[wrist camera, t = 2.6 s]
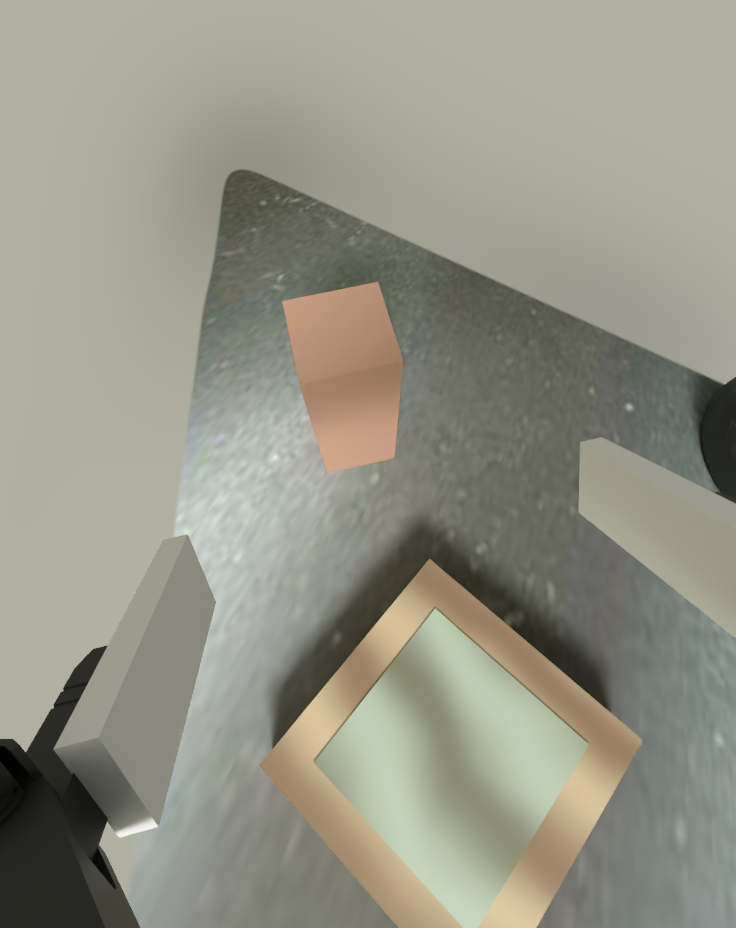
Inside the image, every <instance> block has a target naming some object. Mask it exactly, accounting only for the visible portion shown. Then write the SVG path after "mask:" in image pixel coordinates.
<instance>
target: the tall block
mask: <svg viewBox="0 0 736 928" xmlns="http://www.w3.org/2000/svg"><path fill="white" fill-rule="evenodd" d="M282 302H283V307H284V312H285V317H286V322H287V326H288V331H289V336H290V341H291V345H292V350H293V355H294V360H295V364H296V369H297V374H298V379H299V384H300V387H301V390H302V393H303V396H304V400H305V403H306V406H307V409H308V413H309V416H310V419H311V422H312V425H313V429H314V432H315V435H316V438H317V441H318V445H319V448H320V451H321V454H322V458H323V461H324V464H325V467H326V470H327V473H331V472H335V471H340V470H344V469H348V468H353V467H357V466H361V465H366V464H370V463H375V462H379V461H383V460H388V459H392V458H394V456H395V446H396V436H397V425H398V415H399V405H400V394H401V384H402V374H403V363H404V361H403V358H402V354H401V351H400V348H399V345H398V342H397V339H396V336H395V333H394V330H393V326H392V323H391V320H390V317H389V314H388V311H387V308H386V305H385V302H384V298H383V295H382V292H381V289H380V286H379V283H378V282H375V283H370V284H365V285H360V286H355V287H350V288H345V289H340V290H335V291H330V292H325V293H320V294H315V295H310V296H305V297H300V298H295V299H290V300H285V301H282Z"/></svg>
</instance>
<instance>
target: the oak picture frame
mask: <svg viewBox="0 0 736 928" xmlns="http://www.w3.org/2000/svg"><path fill="white" fill-rule="evenodd" d="M642 741H643V740H642V739H641V738H640V737H638V736H637V735H636V734H635V733H634V732H633V731H631V730H630V729H629V728H628V727H627V726H626V725H624V724H623V723H622V722H621V721H620V720H619V719H617V718H616V717H615V716H614V715H613V714H611V713H610V712H609V711H608V710H607V709H606V708H604V707H603V706H602V705H601V704H600V703H599V702H597V701H596V700H595V699H594V698H593V697H591V696H590V695H589V694H588V693H587V692H586V691H584V690H583V689H582V688H581V687H580V686H579V685H577V684H576V683H575V682H574V681H573V680H572V679H570V678H569V677H568V676H567V675H566V674H564V673H563V672H562V671H561V670H560V669H559V668H557V667H556V666H555V665H554V664H553V663H552V662H550V661H549V660H548V659H547V658H546V657H544V656H543V655H542V654H541V653H540V652H539V651H537V650H536V649H535V648H534V647H533V646H532V645H530V644H529V643H528V642H527V641H526V640H525V639H523V638H522V637H521V636H520V635H519V634H517V633H516V632H515V631H514V630H513V629H512V628H510V627H509V626H508V625H507V624H506V623H505V622H503V621H502V620H501V619H500V618H499V617H497V616H496V615H495V614H494V613H493V612H492V611H490V610H489V609H488V608H487V607H486V606H485V605H483V604H482V603H481V602H480V601H479V600H478V599H476V598H475V597H474V596H473V595H472V594H470V593H469V592H468V591H467V590H466V589H465V588H463V587H462V586H461V585H460V584H459V583H458V582H456V581H455V580H454V579H453V578H452V577H450V576H449V575H448V574H447V573H446V572H445V571H443V570H442V569H441V568H440V567H439V566H438V565H436V564H435V563H434V562H433V561H432V560H430V559H429V560H428V561H427V562H426V564H425V565H424V566H423V567H422V568H421V570H420V571H419V572H418V573H417V574H416V576H415V577H414V578H413V579H412V581H411V582H410V583H409V584H408V585H407V587H406V588H405V589H404V590H403V591H402V593H401V594H400V595H399V596H398V597H397V599H396V600H395V601H394V602H393V604H392V605H391V606H390V607H389V608H388V610H387V611H386V612H385V613H384V614H383V616H382V617H381V618H380V619H379V621H378V622H377V623H376V624H375V625H374V627H373V628H372V629H371V630H370V631H369V633H368V634H367V635H366V636H365V638H364V639H363V640H362V641H361V642H360V644H359V645H358V646H357V647H356V648H355V650H354V651H353V652H352V653H351V654H350V656H349V657H348V658H347V659H346V661H345V662H344V663H343V664H342V665H341V667H340V668H339V669H338V670H337V671H336V673H335V674H334V675H333V676H332V678H331V679H330V680H329V681H328V682H327V684H326V685H325V686H324V687H323V688H322V690H321V691H320V692H319V693H318V695H317V696H316V697H315V698H314V699H313V701H312V702H311V703H310V704H309V705H308V707H307V708H306V709H305V710H304V712H303V713H302V714H301V715H300V716H299V718H298V719H297V720H296V721H295V722H294V724H293V725H292V726H291V727H290V728H289V730H288V731H287V732H286V733H285V735H284V736H283V737H282V738H281V739H280V741H279V742H278V743H277V744H276V745H275V747H274V748H273V749H272V750H271V752H270V753H269V754H268V755H267V756H266V758H265V759H264V760H263V761H262V762H261V764H260V765H259V766H260V768H261V769H262V770H263V771H264V772H265V773H266V774H267V776H268V777H269V778H270V779H271V780H272V781H273V783H274V784H275V785H276V786H277V787H278V788H279V790H280V791H281V792H282V793H283V794H284V795H285V797H286V798H287V799H288V800H289V801H290V802H291V803H292V805H293V806H294V807H295V808H296V809H297V810H298V812H299V813H300V814H301V815H302V816H303V817H304V819H305V820H306V821H307V822H308V823H309V824H310V826H311V827H312V828H313V829H314V830H315V831H316V832H317V834H318V835H319V836H320V837H321V838H322V839H323V841H324V842H325V843H326V844H327V845H328V846H329V848H330V849H331V850H332V851H333V852H334V853H335V855H336V856H337V857H338V858H339V859H340V860H341V861H342V863H343V864H344V865H345V866H346V867H347V868H348V870H349V871H350V872H351V873H352V874H353V875H354V877H355V878H356V879H357V880H358V881H359V882H360V883H361V885H362V886H363V887H364V888H365V889H366V890H367V892H368V893H369V894H370V895H371V896H372V897H373V899H374V900H375V901H376V902H377V903H378V904H379V906H380V907H381V908H382V909H383V910H384V911H385V912H386V914H387V915H388V916H389V917H390V918H391V919H392V921H393V922H394V923H395V924H396V925H397V926H398V928H536V927H537V926H538V924H539V922H540V920H541V919H542V917H543V915H544V913H545V911H546V910H547V908H548V906H549V904H550V903H551V901H552V899H553V897H554V896H555V894H556V892H557V890H558V889H559V887H560V885H561V883H562V882H563V880H564V878H565V876H566V875H567V873H568V871H569V869H570V868H571V866H572V864H573V862H574V861H575V859H576V857H577V855H578V854H579V852H580V850H581V848H582V847H583V845H584V843H585V841H586V840H587V838H588V836H589V834H590V833H591V831H592V829H593V827H594V826H595V824H596V822H597V820H598V819H599V817H600V815H601V813H602V812H603V810H604V808H605V806H606V804H607V803H608V801H609V799H610V797H611V796H612V794H613V792H614V790H615V789H616V787H617V785H618V783H619V782H620V780H621V778H622V776H623V775H624V773H625V771H626V769H627V768H628V766H629V764H630V762H631V761H632V759H633V757H634V755H635V754H636V752H637V750H638V748H639V747H640V745H641V743H642Z"/></svg>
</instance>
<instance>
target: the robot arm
mask: <svg viewBox="0 0 736 928" xmlns="http://www.w3.org/2000/svg"><path fill="white" fill-rule="evenodd" d="M702 445H703V451H704V455H705V459H706V462H707V465H708V467H709V470H710V472H711V474H712V476H713V478H714V480H715V482H716V484H717V485H718V487H719V489H720V490H721V492H722V493H723V494H722V493H718V492H715V493H713V492H711V491H709V490H707V489H705V488H703V487H701V486H699V485H697V484H695V483H693V482H691V481H689V480H687V479H685V478H683V477H681V476H679V475H677V474H675V473H673V472H671V471H669V470H667V469H665V468H663V467H661V466H659V465H657V464H655V463H653V462H651V461H649V460H647V459H645V458H643V457H641V456H639V455H637V454H635V453H633V452H631V451H628V450H626V449H624V448H622V447H620V446H618V445H616V444H614V443H612V442H610V441H608V440H606V439H604V438H602V437H600V438H596V439H592V440H587V441H583V442H580V475H579V513H580V514H581V515H582V516H584V517H585V518H586V519H587V520H589V521H590V522H591V523H592V524H594V525H595V526H596V527H597V528H599V529H600V530H601V531H602V532H604V533H605V534H606V535H607V536H609V537H610V538H611V539H612V540H614V541H615V542H616V543H617V544H619V545H620V546H621V547H622V548H624V549H625V550H626V551H627V552H629V553H630V554H631V555H632V556H634V557H635V558H636V559H637V560H639V561H640V562H641V563H642V564H644V565H645V566H646V567H647V568H649V569H650V570H651V571H652V572H653V573H655V574H656V575H657V576H658V577H660V578H661V579H662V580H663V581H665V582H666V583H667V584H668V585H670V586H671V587H672V588H673V589H675V590H676V591H677V592H678V593H680V594H681V595H682V596H683V597H685V598H686V599H687V600H688V601H690V602H691V603H692V604H693V605H695V606H696V607H697V608H698V609H700V610H701V611H702V612H703V613H705V614H706V615H707V616H708V617H710V618H711V619H712V620H713V621H715V622H716V623H717V624H718V625H720V626H721V627H722V628H723V629H724V630H726V631H727V632H728V633H729V634H731V635H732V636H733V637H734V638H736V377H735V378H734V379H732V380H731V381H729V382H728V383H727V384H725V385H724V386H723V387H722V388H721V389H720V390H719V391H718V392H717V393H716V394H715V395H714V396H713V398H712V399H711V401H710V403H709V405H708V407H707V409H706V411H705V414H704V418H703V424H702ZM215 603H216V601H215V599H214V597H213V594H212V592H211V589H210V587H209V585H208V582H207V580H206V577H205V575H204V573H203V570H202V568H201V565H200V563H199V561H198V558H197V556H196V553H195V551H194V549H193V546H192V544H191V541H190V539H189V537H188V535H184V536H179V537H175V538H171V539H167V540H163V541H162V543H161V545H160V547H159V549H158V551H157V553H156V555H155V557H154V559H153V560H152V562H151V564H150V567H149V568H148V570H147V572H146V574H145V576H144V578H143V580H142V581H141V583H140V585H139V587H138V589H137V591H136V593H135V595H134V597H133V599H132V601H131V602H130V604H129V606H128V608H127V610H126V612H125V614H124V616H123V618H122V620H121V621H120V623H119V625H118V627H117V629H116V631H115V633H114V635H113V637H112V639H111V640H110V643H109V644H108V646H104V647H100V648H96V649H93V650H92V651H91V652H90V653H89V654H88V655H87V656H86V657H85V658H84V659H83V660H82V661H81V663H79V665H78V666H77V667H76V668H75V669H74V671H73V672H72V674H71V676H70V678H69V679H68V681H67V683H66V684H65V686H64V688H63V689H64V691H63V692H61V693H60V695H59V697H58V698H57V700H56V702H55V704H54V709H51V710H50V712H49V714H48V715H47V717H46V719H45V721H44V722H43V724H42V726H41V728H40V729H39V731H38V733H37V735H36V736H35V738H34V740H33V741H32V743H31V745H30V747H29V748H28V750H27V752H26V753H25V751H24V750H23V749H22V748H21V747H20V745H19V744H18V743H17V742H15V741H14V740H13V739H0V928H140V926H139V924H138V922H137V920H136V918H135V916H134V914H133V911H132V909H131V907H130V905H129V903H128V901H127V899H126V897H125V895H124V892H123V890H122V888H121V886H120V884H119V882H118V880H117V878H116V875H115V873H114V871H113V869H112V867H111V865H110V863H109V860H108V858H107V856H106V854H105V853H104V851H103V850H102V849H101V847H100V846H99V842H100V839H101V837H102V834H103V831H104V828H105V825H106V822H108V823H109V824H110V826H111V827H112V828H113V830H114V831H115V832H116V834H117V835H118V836H119V837H123V836H127V835H131V834H134V833H138V832H141V831H145V830H148V829H152V828H156V827H159V823H160V819H161V815H162V811H163V807H164V803H165V799H166V795H167V791H168V787H169V783H170V780H171V776H172V772H173V768H174V764H175V760H176V756H177V752H178V748H179V744H180V740H181V736H182V733H183V729H184V725H185V721H186V717H187V713H188V709H189V705H190V701H191V697H192V693H193V690H194V686H195V682H196V678H197V674H198V670H199V666H200V662H201V658H202V654H203V650H204V646H205V643H206V639H207V635H208V631H209V627H210V623H211V619H212V615H213V611H214V607H215Z"/></svg>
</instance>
